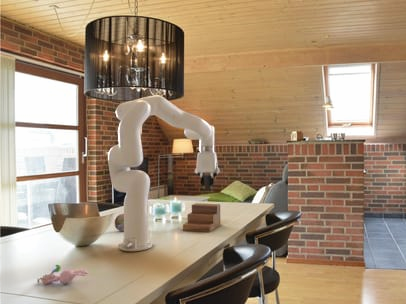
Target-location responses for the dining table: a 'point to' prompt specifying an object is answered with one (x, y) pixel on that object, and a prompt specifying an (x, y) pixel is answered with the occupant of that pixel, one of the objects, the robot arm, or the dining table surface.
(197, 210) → the step rack
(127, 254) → the dining table surface
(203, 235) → the dining table surface
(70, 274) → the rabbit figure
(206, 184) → the cylinder
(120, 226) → the tin
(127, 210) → the robot arm
